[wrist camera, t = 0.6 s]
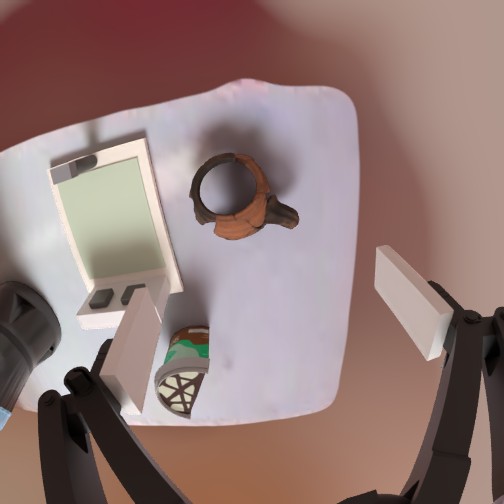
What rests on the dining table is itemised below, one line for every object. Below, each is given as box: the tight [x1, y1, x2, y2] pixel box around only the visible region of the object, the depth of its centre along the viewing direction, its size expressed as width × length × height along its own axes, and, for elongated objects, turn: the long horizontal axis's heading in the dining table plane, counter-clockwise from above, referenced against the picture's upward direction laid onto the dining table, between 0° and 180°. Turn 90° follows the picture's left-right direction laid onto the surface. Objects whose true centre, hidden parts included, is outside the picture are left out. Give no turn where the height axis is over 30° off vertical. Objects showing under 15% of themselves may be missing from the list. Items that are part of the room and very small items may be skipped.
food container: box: [154, 326, 210, 419], centre depth 39 cm, size 12×6×10 cm, turn 161°
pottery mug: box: [189, 153, 299, 240], centre depth 33 cm, size 12×10×8 cm
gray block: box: [50, 155, 97, 185], centre depth 27 cm, size 2×2×8 cm
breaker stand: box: [47, 138, 184, 330], centre depth 32 cm, size 14×20×8 cm
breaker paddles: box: [88, 283, 146, 309], centre depth 33 cm, size 7×1×3 cm, turn 98°
